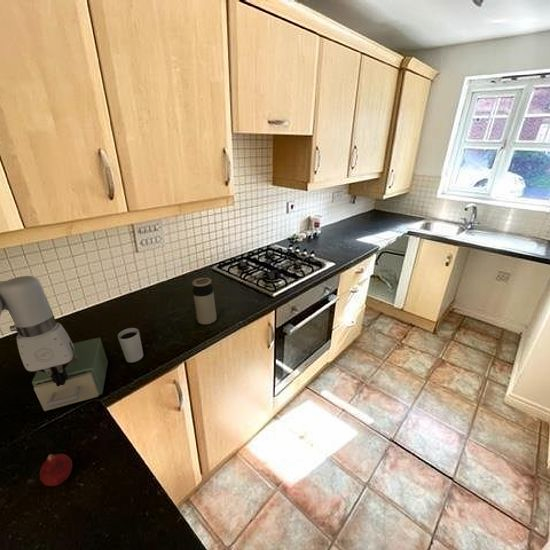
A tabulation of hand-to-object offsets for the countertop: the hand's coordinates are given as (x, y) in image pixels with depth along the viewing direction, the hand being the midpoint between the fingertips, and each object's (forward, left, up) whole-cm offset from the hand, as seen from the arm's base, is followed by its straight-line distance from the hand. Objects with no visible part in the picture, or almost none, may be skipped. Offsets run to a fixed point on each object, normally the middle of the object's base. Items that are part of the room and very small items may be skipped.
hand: (62, 382), depth 81 cm
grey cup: (+16, +18, -10) cm, 26 cm away
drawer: (0, +6, -9) cm, 11 cm away
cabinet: (0, +11, -10) cm, 15 cm away
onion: (+2, -22, -10) cm, 24 cm away
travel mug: (+44, +32, -10) cm, 55 cm away
